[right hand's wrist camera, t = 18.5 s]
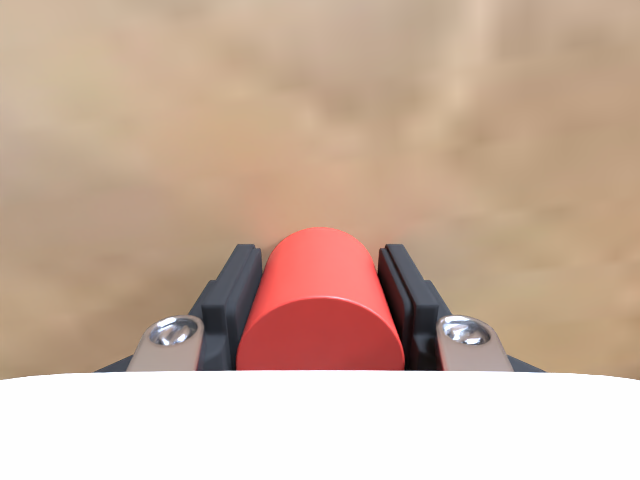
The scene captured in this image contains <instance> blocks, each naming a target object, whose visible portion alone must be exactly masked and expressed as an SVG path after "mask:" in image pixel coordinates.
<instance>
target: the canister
mask: <svg viewBox="0 0 640 480" xmlns="http://www.w3.org/2000/svg"><path fill="white" fill-rule="evenodd" d="M404 367H405V359H404V352H403V348H402V344H401V341H400V338H399V336H398V333H397V330H396V327H395V324H394V321H393V318H392V315H391V312H390V310H389V307H388V304H387V301H386V298H385V295H384V292H383V289H382V286H381V284H380V281H379V278H378V275H377V272H376V269H375V266H374V263H373V261H372V258H371V256H370V255H369V253H368V251H367V250H366V249H365V247H364V246H363V245H362V244H361V243H360V242H359V241H358V240H356V239H355V238H353V237H352V236H350V235H348V234H346V233H344V232H342V231H339V230H335V229H331V228H309V229H305V230H301V231H298V232H296V233H293V234H292V235H290V236H288V237H287V238H285V239H284V240H283V241H281V242H280V243H279V244H278V245H277V246H276V247H275V249H274V250H273V251H272V253H271V255H270V257H269V258H268V261H267V264H266V266H265V269H264V272H263V275H262V278H261V281H260V284H259V287H258V290H257V293H256V296H255V299H254V302H253V305H252V307H251V310H250V313H249V316H248V319H247V322H246V325H245V328H244V331H243V334H242V337H241V340H240V343H239V346H238V349H237V354H236V371H404Z"/></svg>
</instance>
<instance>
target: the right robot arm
mask: <svg viewBox="0 0 640 480" xmlns="http://www.w3.org/2000/svg"><path fill="white" fill-rule="evenodd" d="M262 275H263V274H262V259H261V250H260V248H255V245H254V244H238V245H237V246H236V248H235V249H234V251H233V253H232V254H231V256H230V258H229V259H228V261H227V263H226V264H225V266H224V268H223V269H222V271H221V273H220V274H219V276H218V278H217V279H216V280H210V281H209V282H208V284H207V286H206V287H205V289H204V290H203V292H202V293H201V295H200V297H199V298H198V300H197V301H196V303H195V304H194V306H193V308H192V309H191V311H190V312H189V314H188V315H177V316H171V317H168V318H165V319H162V320H160V321H158V322H156V323H154V324H152V325H151V326H150V327H149V328H147V330H146V331H145V332H144V334H143V336H142V338H141V340H140V342H139V344H138V346H137V348H136V351H135V353H134V355H131V356H129V357H127V358H125V359H122V360H120V361H118V362H115V363H113V364H111V365H109V366H106V367H104V368H102V369H100V370H97V371H95V372H93V373H85V374H59V375H46V376H32V377H24V378H17V379H9V380H3V381H0V480H640V381H637V380H631V379H624V378H616V377H608V376H595V375H580V374H557V373H547V372H545V371H543V370H541V369H538V368H536V367H534V366H531V365H529V364H527V363H525V362H522V361H520V360H518V359H516V358H513V357H511V356H509V355H507V354H506V353H505V351H504V348H503V346H502V344H501V342H500V340H499V338H498V336H497V334H496V332H495V331H494V330H493V328H491V327H490V326H489V325H488V324H486V323H484V322H482V321H480V320H478V319H475V318H472V317H469V316H463V315H452V314H451V312H450V310H449V309H448V307H447V306H446V304H445V303H444V301H443V299H442V298H441V296H440V295H439V293H438V292H437V290H436V288H435V287H434V285H433V284H432V282H431V281H430V280H424V279H423V277H422V276H421V274H420V272H419V271H418V269H417V267H416V266H415V264H414V263H413V261H412V259H411V258H410V256H409V254H408V253H407V251H406V249H405V248H404V246H403V245H402V244H386V246H385V248H380V250H379V261H378V278H379V281H380V284H381V286H382V289H383V292H384V295H385V298H386V301H387V304H388V307H389V310H390V312H391V315H392V318H393V321H394V324H395V327H396V330H397V333H398V336H399V338H400V341H401V344H402V348H403V352H404V359H405V367H404V371H236V354H237V349H238V346H239V343H240V340H241V337H242V334H243V331H244V328H245V325H246V322H247V319H248V316H249V313H250V310H251V307H252V305H253V302H254V299H255V296H256V293H257V290H258V287H259V284H260V281H261V278H262Z"/></svg>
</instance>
